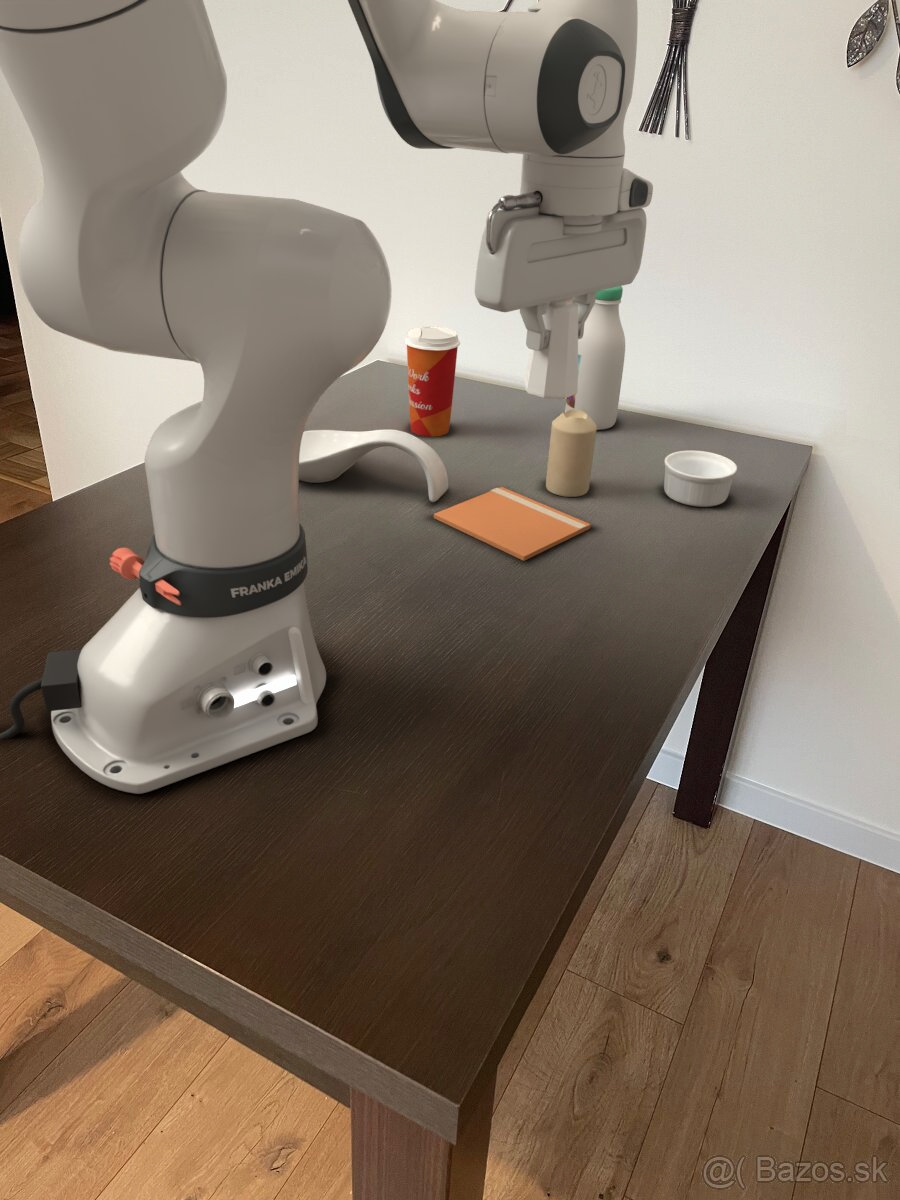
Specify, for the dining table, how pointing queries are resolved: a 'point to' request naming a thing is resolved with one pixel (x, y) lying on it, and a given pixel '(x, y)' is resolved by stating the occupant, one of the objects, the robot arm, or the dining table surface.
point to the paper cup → (431, 378)
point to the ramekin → (698, 477)
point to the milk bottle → (600, 361)
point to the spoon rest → (341, 449)
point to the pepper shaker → (556, 354)
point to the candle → (571, 454)
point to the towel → (512, 522)
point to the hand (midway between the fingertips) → (554, 343)
